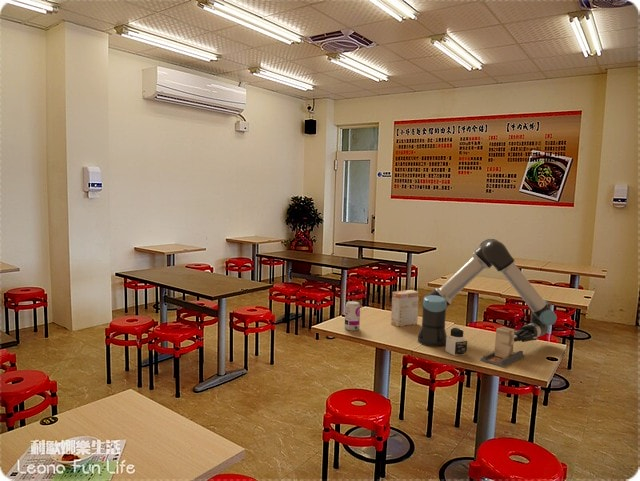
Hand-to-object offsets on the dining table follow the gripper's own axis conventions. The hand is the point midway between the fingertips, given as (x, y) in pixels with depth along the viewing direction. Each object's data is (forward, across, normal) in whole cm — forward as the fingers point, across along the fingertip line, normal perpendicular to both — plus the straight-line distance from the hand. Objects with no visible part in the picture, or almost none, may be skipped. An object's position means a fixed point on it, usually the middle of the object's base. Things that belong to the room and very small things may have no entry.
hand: (509, 340), depth 221 cm
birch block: (+3, +1, -7) cm, 8 cm away
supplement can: (+25, +78, -9) cm, 83 cm away
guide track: (+4, +1, -8) cm, 9 cm away
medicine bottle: (+14, +19, -9) cm, 25 cm away
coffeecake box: (-8, +67, -9) cm, 68 cm away
